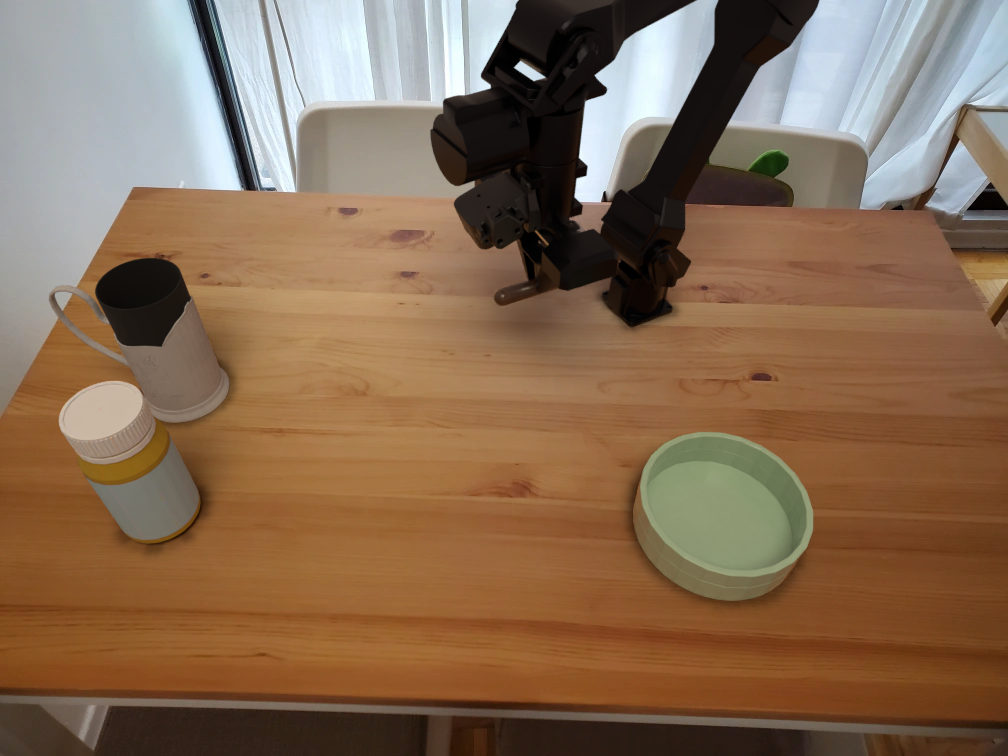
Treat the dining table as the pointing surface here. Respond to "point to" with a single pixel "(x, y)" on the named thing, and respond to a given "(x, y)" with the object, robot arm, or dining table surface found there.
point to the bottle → (130, 461)
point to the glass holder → (156, 337)
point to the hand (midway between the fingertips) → (537, 285)
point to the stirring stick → (518, 292)
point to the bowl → (721, 515)
